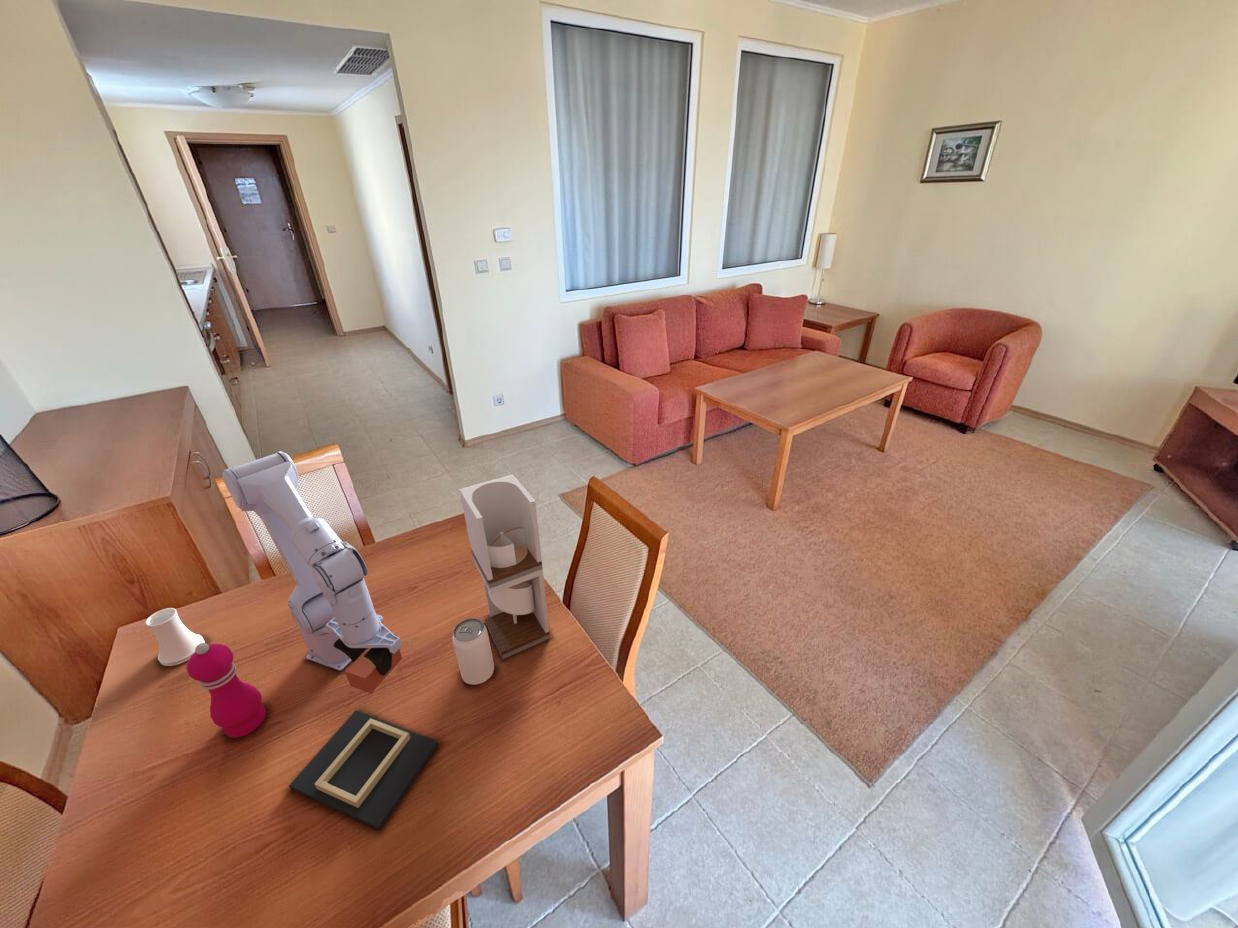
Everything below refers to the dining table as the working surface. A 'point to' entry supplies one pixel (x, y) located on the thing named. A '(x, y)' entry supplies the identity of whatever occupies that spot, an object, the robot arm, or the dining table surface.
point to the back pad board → (365, 768)
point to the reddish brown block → (368, 672)
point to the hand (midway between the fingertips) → (375, 667)
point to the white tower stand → (508, 561)
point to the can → (473, 651)
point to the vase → (173, 637)
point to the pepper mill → (226, 690)
